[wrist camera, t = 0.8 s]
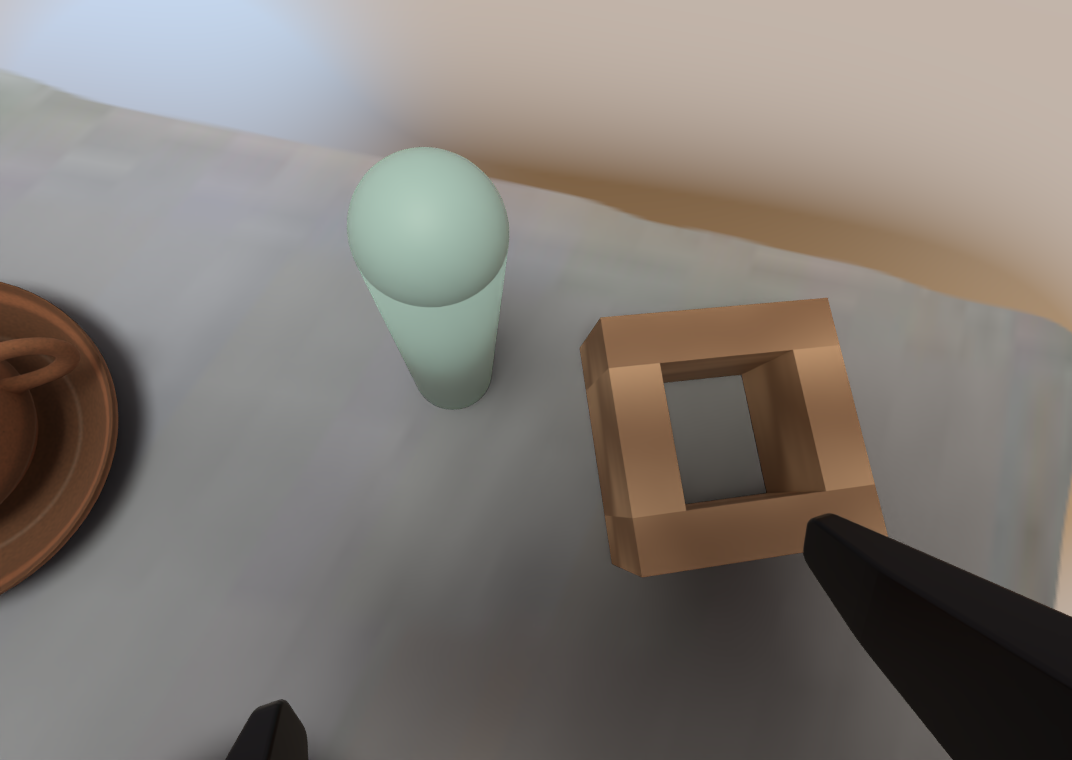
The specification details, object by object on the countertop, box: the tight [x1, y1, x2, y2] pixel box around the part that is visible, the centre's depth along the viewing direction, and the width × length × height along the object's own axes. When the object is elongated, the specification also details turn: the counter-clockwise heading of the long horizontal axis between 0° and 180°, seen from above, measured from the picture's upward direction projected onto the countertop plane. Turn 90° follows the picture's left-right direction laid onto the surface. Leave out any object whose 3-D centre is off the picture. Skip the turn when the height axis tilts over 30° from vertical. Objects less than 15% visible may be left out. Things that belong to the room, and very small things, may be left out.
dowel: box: [347, 147, 509, 409], centre depth 16 cm, size 3×3×14 cm
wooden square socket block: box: [580, 298, 888, 577], centre depth 21 cm, size 9×9×4 cm
